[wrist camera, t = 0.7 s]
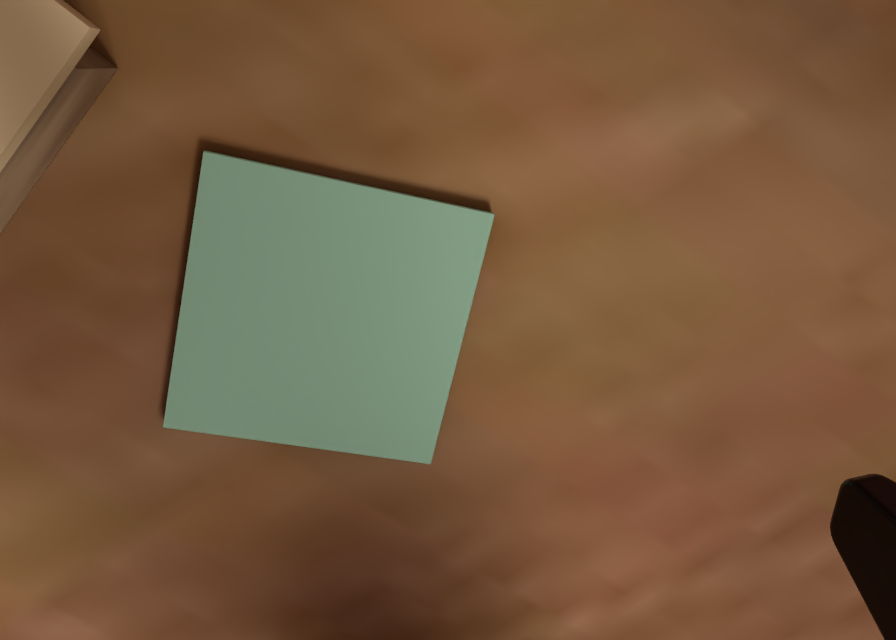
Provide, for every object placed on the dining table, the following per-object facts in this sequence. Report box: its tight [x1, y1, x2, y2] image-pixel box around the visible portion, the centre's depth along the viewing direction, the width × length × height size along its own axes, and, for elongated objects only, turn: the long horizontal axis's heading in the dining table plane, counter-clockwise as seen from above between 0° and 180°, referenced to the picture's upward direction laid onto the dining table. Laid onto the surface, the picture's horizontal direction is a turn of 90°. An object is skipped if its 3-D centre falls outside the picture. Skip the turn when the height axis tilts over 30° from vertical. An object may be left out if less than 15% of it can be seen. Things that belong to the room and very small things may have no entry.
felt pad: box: [163, 150, 495, 464], centre depth 22 cm, size 8×8×1 cm
